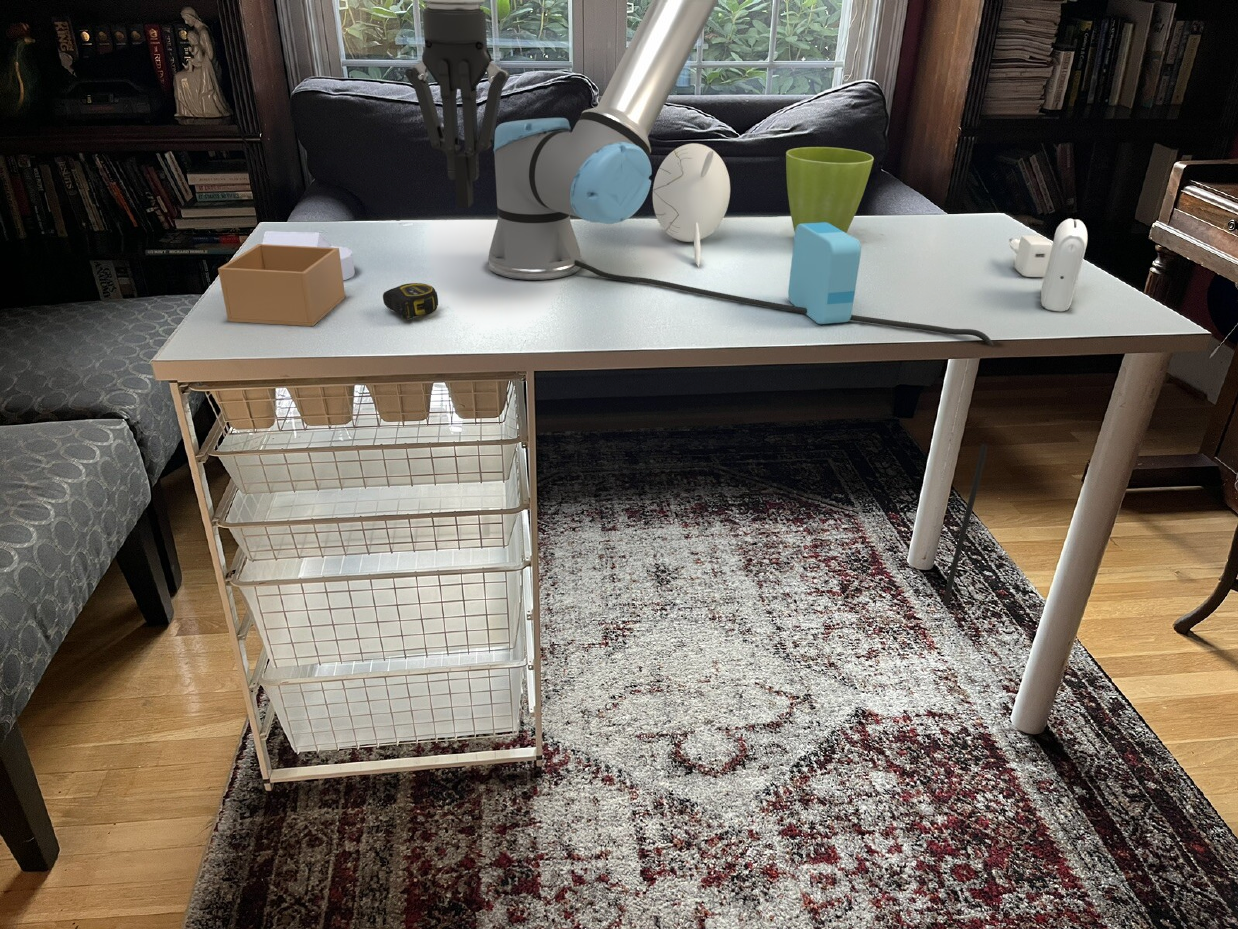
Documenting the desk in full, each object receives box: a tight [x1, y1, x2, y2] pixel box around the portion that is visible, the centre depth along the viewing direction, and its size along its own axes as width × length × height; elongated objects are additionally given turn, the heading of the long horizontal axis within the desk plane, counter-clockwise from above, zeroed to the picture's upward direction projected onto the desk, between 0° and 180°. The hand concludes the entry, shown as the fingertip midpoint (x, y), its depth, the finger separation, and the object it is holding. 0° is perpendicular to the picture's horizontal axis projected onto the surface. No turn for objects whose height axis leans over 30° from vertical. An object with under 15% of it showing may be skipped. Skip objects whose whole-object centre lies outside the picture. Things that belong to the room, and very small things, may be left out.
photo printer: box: [1040, 218, 1088, 312], centre depth 139 cm, size 10×4×12 cm, turn 158°
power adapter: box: [1008, 234, 1053, 278], centre depth 155 cm, size 11×5×6 cm, turn 176°
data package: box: [787, 222, 862, 325], centre depth 132 cm, size 12×4×12 cm, turn 15°
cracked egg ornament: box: [652, 143, 731, 268], centre depth 161 cm, size 19×14×25 cm
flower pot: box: [785, 146, 875, 234], centre depth 162 cm, size 15×15×16 cm
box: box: [217, 243, 346, 327], centre depth 130 cm, size 12×12×8 cm
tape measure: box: [382, 282, 439, 320], centre depth 130 cm, size 7×7×4 cm
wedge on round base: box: [261, 230, 356, 281], centre depth 145 cm, size 9×7×13 cm
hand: (465, 204), depth 122 cm, fingers closed
